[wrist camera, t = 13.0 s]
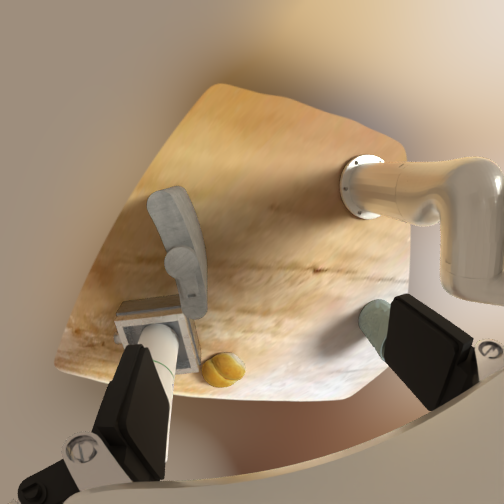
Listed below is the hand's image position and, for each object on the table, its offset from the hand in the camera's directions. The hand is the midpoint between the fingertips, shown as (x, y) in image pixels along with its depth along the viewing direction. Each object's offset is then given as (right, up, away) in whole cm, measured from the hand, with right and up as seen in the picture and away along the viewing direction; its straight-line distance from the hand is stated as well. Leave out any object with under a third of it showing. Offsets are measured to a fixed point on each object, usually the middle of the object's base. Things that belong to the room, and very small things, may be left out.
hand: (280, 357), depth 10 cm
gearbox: (-20, -11, +42) cm, 48 cm away
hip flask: (-12, +8, +39) cm, 41 cm away
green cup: (+26, -11, +49) cm, 57 cm away
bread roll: (-7, -21, +47) cm, 52 cm away
